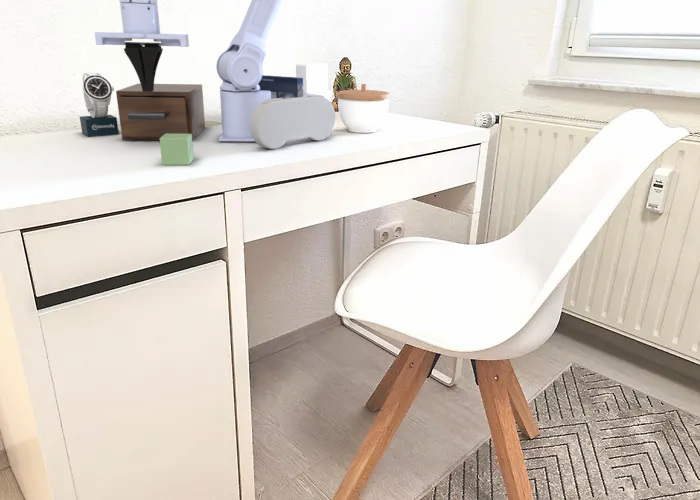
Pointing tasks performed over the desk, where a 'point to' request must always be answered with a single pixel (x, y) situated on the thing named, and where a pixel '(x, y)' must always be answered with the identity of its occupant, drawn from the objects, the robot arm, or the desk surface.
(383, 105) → the trinket box
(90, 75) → the watch
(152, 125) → the drawer
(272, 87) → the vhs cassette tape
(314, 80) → the base with upright slab
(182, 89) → the cabinet
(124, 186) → the desk surface
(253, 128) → the game controller
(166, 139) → the block
